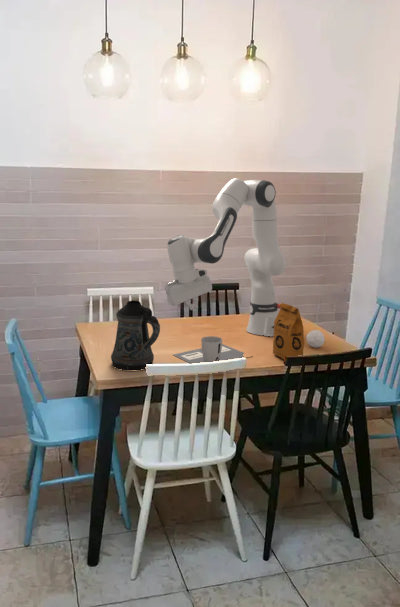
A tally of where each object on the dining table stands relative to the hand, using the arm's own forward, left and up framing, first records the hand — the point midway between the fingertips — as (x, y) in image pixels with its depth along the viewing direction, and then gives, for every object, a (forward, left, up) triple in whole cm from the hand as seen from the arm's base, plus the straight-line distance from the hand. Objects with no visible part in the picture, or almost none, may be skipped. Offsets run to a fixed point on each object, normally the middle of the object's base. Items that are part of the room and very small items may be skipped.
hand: (194, 308), depth 220 cm
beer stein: (+25, +7, -19) cm, 33 cm away
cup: (-3, +14, -19) cm, 24 cm away
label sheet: (-7, +5, -19) cm, 21 cm away
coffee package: (-36, +15, -19) cm, 43 cm away
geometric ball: (-54, +5, -19) cm, 57 cm away
